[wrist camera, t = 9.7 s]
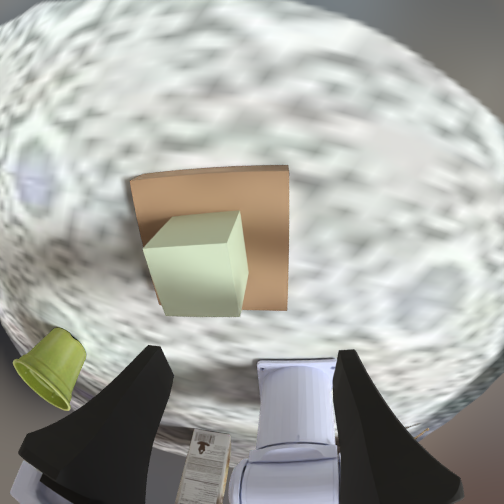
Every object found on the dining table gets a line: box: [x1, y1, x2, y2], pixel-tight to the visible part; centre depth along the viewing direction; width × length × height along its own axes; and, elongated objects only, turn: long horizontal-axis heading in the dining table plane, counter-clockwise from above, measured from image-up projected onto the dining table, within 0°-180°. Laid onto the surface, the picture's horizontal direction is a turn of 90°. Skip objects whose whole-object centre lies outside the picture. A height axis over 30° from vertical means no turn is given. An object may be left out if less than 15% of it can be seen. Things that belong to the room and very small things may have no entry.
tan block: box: [130, 165, 289, 311], centre depth 19 cm, size 10×10×2 cm
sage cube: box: [143, 210, 249, 317], centre depth 15 cm, size 4×4×4 cm
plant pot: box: [13, 328, 86, 411], centre depth 25 cm, size 9×9×9 cm
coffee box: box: [175, 429, 231, 504], centre depth 31 cm, size 9×6×16 cm
